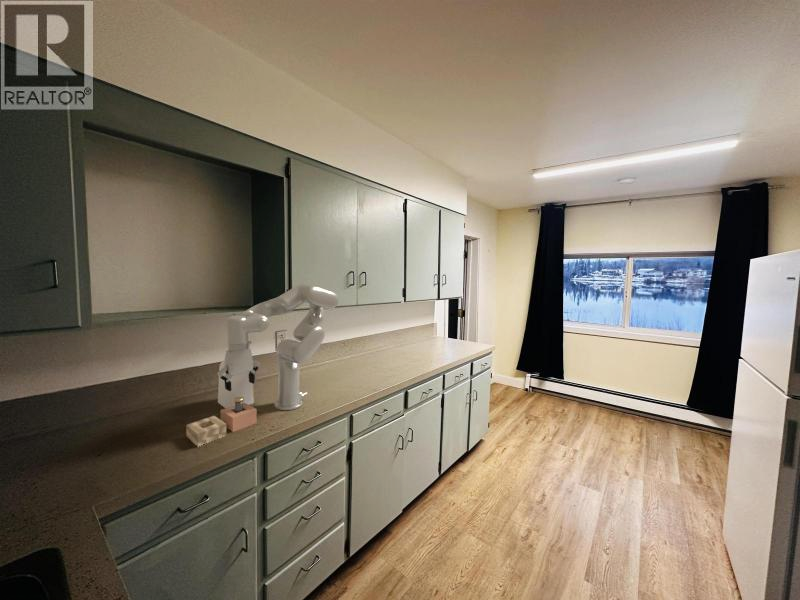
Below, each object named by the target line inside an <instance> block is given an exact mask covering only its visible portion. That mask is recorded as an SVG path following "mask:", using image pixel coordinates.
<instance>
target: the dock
mask: <svg viewBox="0 0 800 600" xmlns="http://www.w3.org/2000/svg"><path fill="white" fill-rule="evenodd" d="M257 410H258V409H257V408H255V407H253V406H251V404H249V405H248V404H246V403H243V411H241V412H238V413H235V406H232V407H228V408H225V407H224V408H222V409H220V420H221V421H223V422H224V423H226V429H228V430H229V431H230V430H231V431H230V432H232V433H235V432H237V431H240V430H242V429H245V428H247V427H250V426H252V425H255V424H257V423H258V421H257V420H258V419H257V418H258V417H257V415H258V413H257V412H258V411H257Z"/></svg>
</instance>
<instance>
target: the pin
mask: <svg viewBox="0 0 800 600" xmlns="http://www.w3.org/2000/svg"><path fill="white" fill-rule="evenodd" d="M243 400H244V398H243V397H236V398H234V402H235V413H238V412H241V411H243Z"/></svg>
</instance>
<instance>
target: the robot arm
mask: <svg viewBox="0 0 800 600" xmlns="http://www.w3.org/2000/svg"><path fill="white" fill-rule="evenodd" d="M304 303H306V304H309V309H308V311H307V312H308V313H307V314H305V316H304V317H303V319H302V320H301V321H300V322H299V323H298V324H297V326H296V327H295V328H294V330H293V335H292V336H293V337H294V339H295V340H293V339H291V338H289V339H288V338H285V339H282V340H280V342H278V343H277V346H276V350H275V353H276V360H277V371H278V373H277V379H278V380H277V388H278V389H277V400H276V401H275V402H274V408H275V409H277V410H279V411H291V410H296V409H298V408H300V407H301V406H302V405H303V400H302V399H303V398H305V397H307V396H308V394H309V393H308V392H307V391H306V392H302V391H300V371H301V370H300V365H305V363H307V362H308V361H309V360H310V359H311V358H312V356H313V355H314V354H315V352H316V351H317V350H318V349H319V347H320V346H321V344H322V343H323V341H324V339H325V330H324V328H323V326H322V327H321V325H322V324H323V322H324V320H325V309H327V310H333V309H335V308H336V307H337V306H338V304H339V297H338V295H337V294H336V293H335V292H334V291H330V290H328V289H325V288H323V287H318V286H316V285H312V284H303V283H302V284H298V285H295V286H294V287H292V288H290V289H289V290H287V291H286V292H284V293H282V294H281V295H279V296H277V297H275V298H272V299H268V300H266V301H262V302H260V303H258V304H256V305H253V306H252V307H250V308H248V309H247V310H244V311H243V312H242V313H241V315H233V316H230V317H228V318H227V319H226V329H227V330H226V331H227V350H226V351H225V355H224V359H225V365H224V368H222V369H221V370H220V371H219V370H218V371H217V373H216V375H217V376H218V378H219V377H220V378H221V379H222V380H224V381H225V389H226V390H228V391H231V381H230V379H231V378H232V376H235V375H239V374H242V373H246V372H250V373H249V382H250V383H252V384H253V385H254V384H255V380H256V377H255V376H256V373H257V372H258V370H259V367H260V365H261V361H258V360H254V359H253V358H254V357H253V353H252V350H251V348H250V345H252V341H251V340H249V333H250V334H252V333H262V332H265V331H266V330H267V329H268V328H269V326H270V319H269V317H273V316H280V315H286V314H290V312H292V311H294V310H295V309H297V308H298V307H300V306H301V305H303V304H304ZM224 372H225V373H226V375H225V377H224V376H223V373H224Z"/></svg>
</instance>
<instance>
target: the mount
mask: <svg viewBox="0 0 800 600" xmlns="http://www.w3.org/2000/svg"><path fill="white" fill-rule="evenodd" d="M185 427H186V429H185V430H186V438H187V437H188V438H189V439H190V440H191V441H190V440H189V439H188V438H187V439H188V440H189V441H190V442H191V443H193V444H194V445H195V446H196V445H197V448H200V447H202V446H204V445H203V444H205V445H207V444H210V443H212V442H215V441H216V440H217V439H218V440H220V439H222V437H223V438H225V437H227V428H226V423H224V422H223V421H221V418H218V417H217V416H216V415H212V416H209V417H206V418H202V419H200V420H197V421H194V422H191V423H188V424H186V425H185ZM219 438H220V439H219ZM214 440H215V441H214ZM211 441H212V442H211ZM209 442H210V443H209ZM206 443H207V444H206ZM201 445H202V446H201ZM199 446H200V447H199Z"/></svg>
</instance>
